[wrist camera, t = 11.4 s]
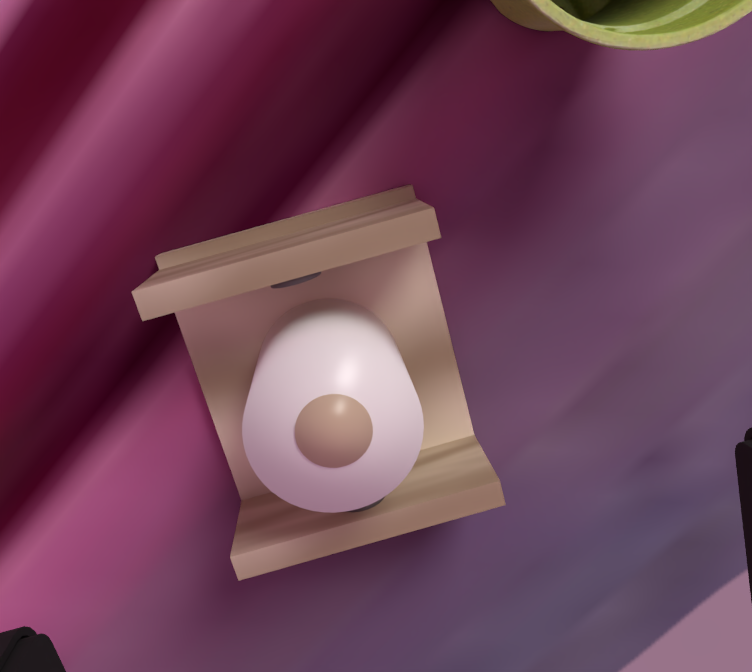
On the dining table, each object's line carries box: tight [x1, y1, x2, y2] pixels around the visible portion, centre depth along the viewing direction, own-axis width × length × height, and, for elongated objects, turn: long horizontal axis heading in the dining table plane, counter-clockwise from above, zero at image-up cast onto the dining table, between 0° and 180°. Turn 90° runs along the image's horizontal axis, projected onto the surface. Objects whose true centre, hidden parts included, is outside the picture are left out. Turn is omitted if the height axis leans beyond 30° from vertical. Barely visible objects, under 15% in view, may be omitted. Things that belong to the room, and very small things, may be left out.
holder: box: [132, 184, 506, 581], centre depth 27 cm, size 12×10×5 cm
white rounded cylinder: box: [242, 298, 424, 513], centre depth 25 cm, size 6×6×7 cm
